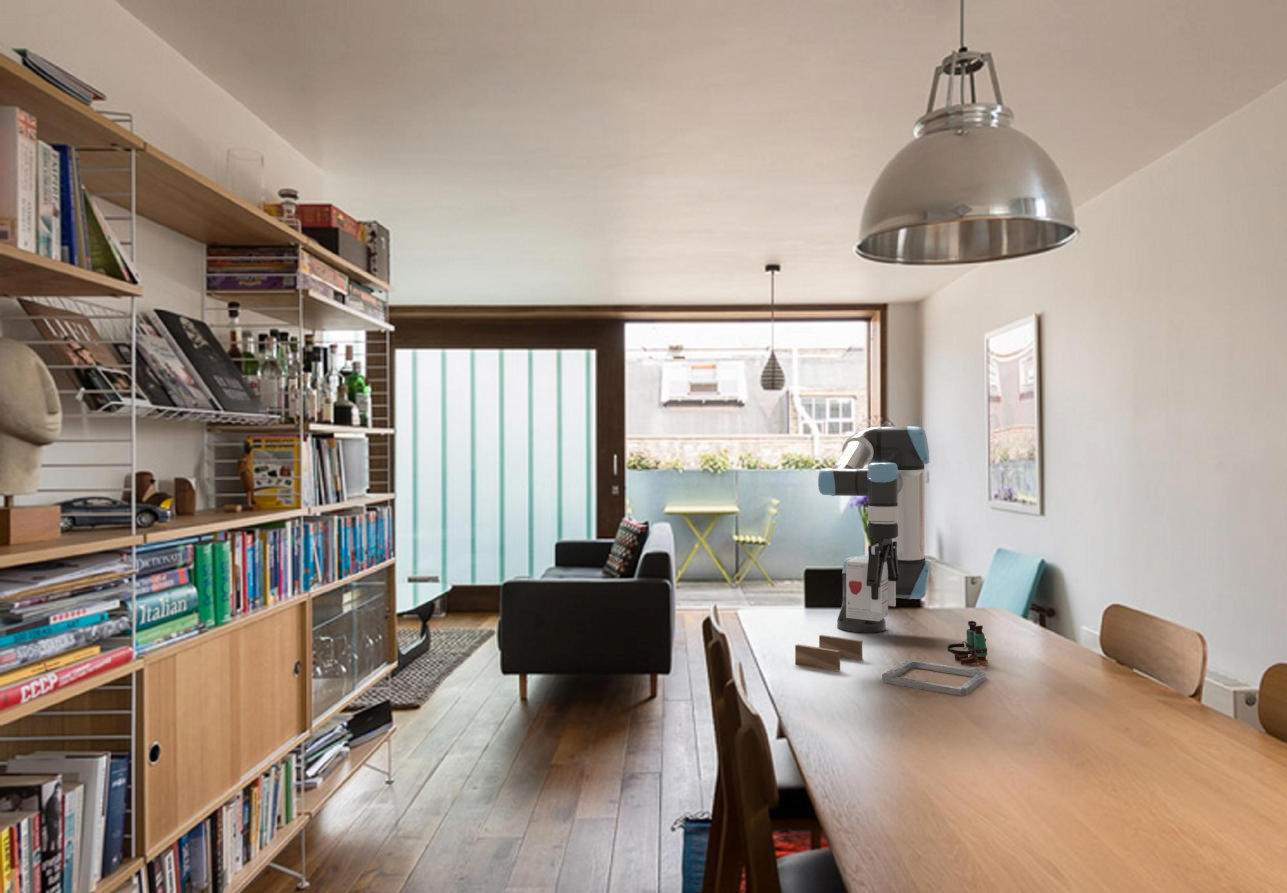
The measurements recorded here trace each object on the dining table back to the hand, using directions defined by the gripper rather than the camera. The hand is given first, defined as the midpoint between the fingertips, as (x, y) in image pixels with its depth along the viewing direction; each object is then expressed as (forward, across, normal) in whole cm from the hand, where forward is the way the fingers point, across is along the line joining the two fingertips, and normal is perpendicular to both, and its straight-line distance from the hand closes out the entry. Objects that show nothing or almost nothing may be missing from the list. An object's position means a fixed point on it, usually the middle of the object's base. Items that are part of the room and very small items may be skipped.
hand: (883, 608), depth 215 cm
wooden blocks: (+16, +1, -15) cm, 22 cm away
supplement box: (+3, 0, -4) cm, 5 cm away
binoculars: (+17, -21, +15) cm, 31 cm away
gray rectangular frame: (+16, +2, +14) cm, 21 cm away
